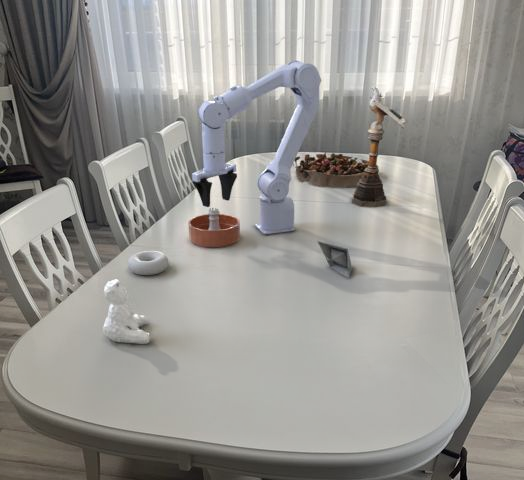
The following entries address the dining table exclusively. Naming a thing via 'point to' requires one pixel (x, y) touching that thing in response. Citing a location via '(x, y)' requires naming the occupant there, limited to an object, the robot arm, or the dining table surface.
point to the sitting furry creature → (122, 317)
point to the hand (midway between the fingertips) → (216, 202)
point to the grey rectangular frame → (337, 258)
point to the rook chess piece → (214, 219)
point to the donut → (148, 262)
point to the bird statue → (374, 157)
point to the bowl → (214, 231)
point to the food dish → (331, 170)
